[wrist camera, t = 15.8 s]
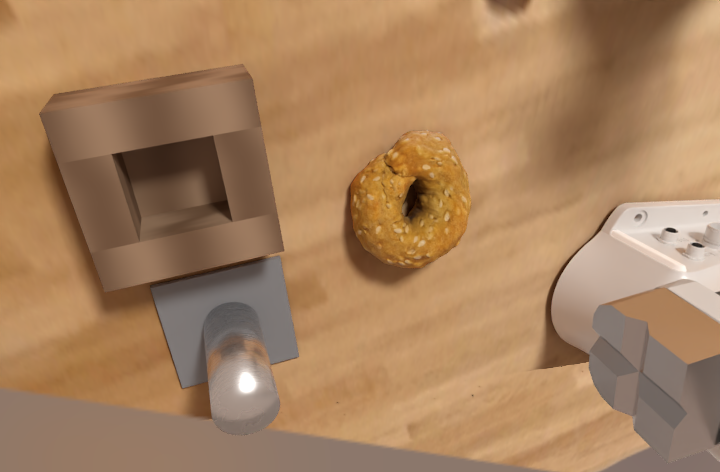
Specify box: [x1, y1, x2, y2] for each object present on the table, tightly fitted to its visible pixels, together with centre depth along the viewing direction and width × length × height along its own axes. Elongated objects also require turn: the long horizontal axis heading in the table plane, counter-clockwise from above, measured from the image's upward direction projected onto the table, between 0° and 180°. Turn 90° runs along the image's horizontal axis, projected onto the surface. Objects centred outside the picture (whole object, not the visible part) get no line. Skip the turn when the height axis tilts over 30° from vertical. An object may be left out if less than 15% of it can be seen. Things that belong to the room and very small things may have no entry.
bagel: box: [350, 130, 471, 268], centre depth 45 cm, size 10×11×5 cm
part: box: [203, 302, 280, 435], centre depth 43 cm, size 4×4×10 cm
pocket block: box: [39, 64, 284, 292], centre depth 39 cm, size 12×12×5 cm
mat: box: [150, 256, 299, 388], centre depth 47 cm, size 10×10×1 cm
